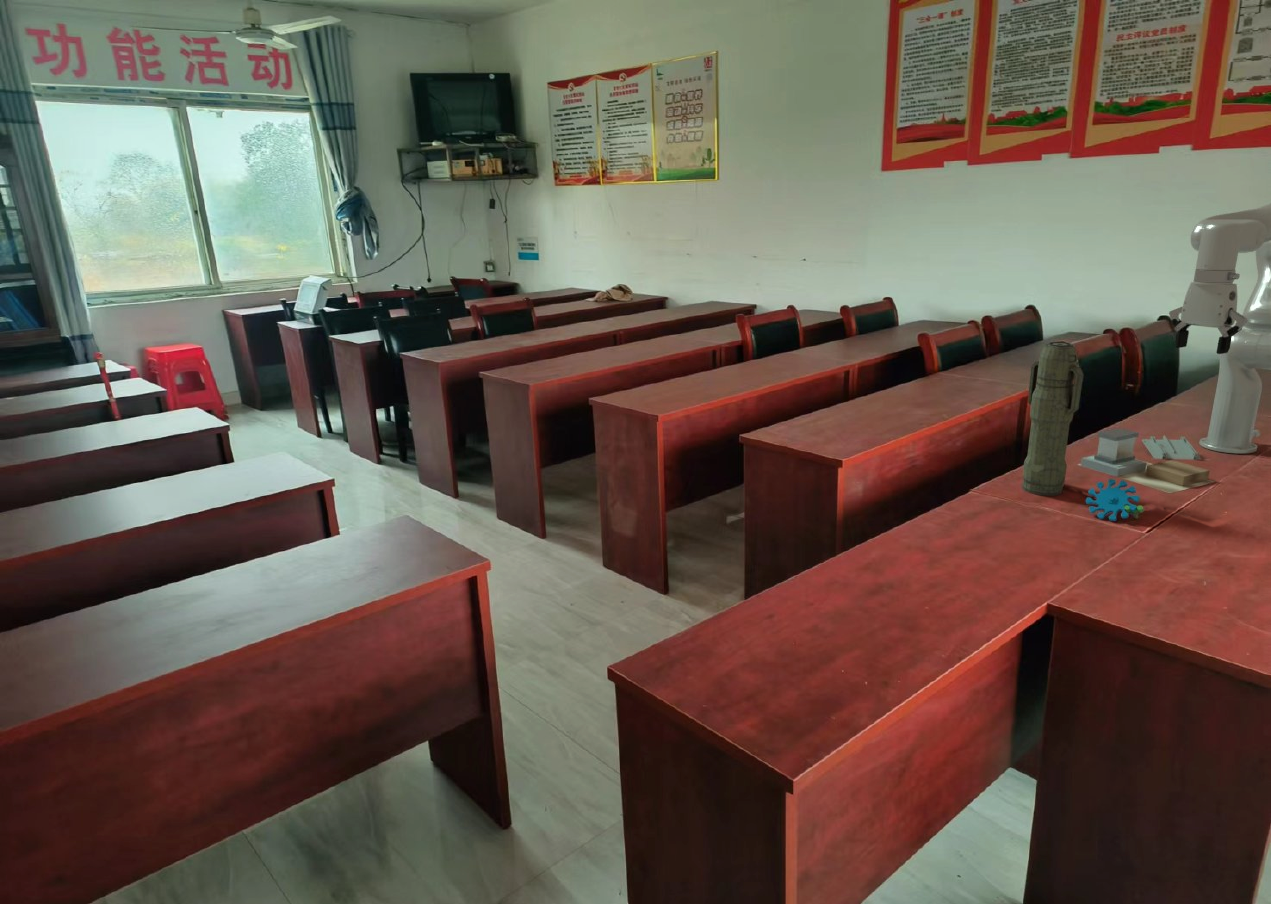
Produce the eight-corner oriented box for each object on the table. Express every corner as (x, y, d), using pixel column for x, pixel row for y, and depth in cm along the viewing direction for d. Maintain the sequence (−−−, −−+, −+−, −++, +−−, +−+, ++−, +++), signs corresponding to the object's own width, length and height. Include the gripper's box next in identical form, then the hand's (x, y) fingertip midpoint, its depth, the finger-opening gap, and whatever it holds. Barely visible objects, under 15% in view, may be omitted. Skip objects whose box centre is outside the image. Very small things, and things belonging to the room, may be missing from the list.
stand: (1170, 469, 196) (1172, 460, 195) (1207, 480, 188) (1209, 470, 187) (1145, 475, 193) (1147, 465, 192) (1182, 486, 185) (1184, 476, 184)
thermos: (1057, 500, 182) (1076, 349, 172) (1008, 487, 191) (1024, 343, 181) (1077, 491, 187) (1097, 344, 176) (1028, 479, 196) (1045, 338, 186)
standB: (1108, 459, 205) (1109, 451, 204) (1145, 470, 196) (1146, 461, 196) (1080, 465, 201) (1081, 457, 201) (1117, 476, 193) (1118, 468, 192)
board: (1120, 458, 208) (1121, 454, 208) (1214, 485, 187) (1215, 481, 187) (1076, 468, 203) (1077, 464, 202) (1169, 497, 181) (1169, 493, 181)
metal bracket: (1134, 431, 212) (1196, 432, 210) (1128, 449, 215) (1189, 450, 213) (1154, 462, 200) (1220, 463, 198) (1148, 480, 204) (1213, 482, 201)
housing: (1116, 454, 202) (1120, 427, 200) (1134, 459, 197) (1139, 432, 195) (1093, 459, 199) (1097, 432, 197) (1112, 464, 195) (1116, 437, 192)
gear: (1075, 506, 174) (1101, 470, 175) (1080, 518, 178) (1105, 483, 179) (1127, 528, 166) (1153, 490, 167) (1131, 540, 170) (1157, 503, 171)
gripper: (1264, 278, 178) (1249, 354, 183) (1187, 273, 193) (1175, 343, 198) (1243, 281, 175) (1228, 357, 180) (1166, 275, 190) (1155, 346, 196)
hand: (1200, 350), depth 189 cm, fingers open, 9 cm apart
